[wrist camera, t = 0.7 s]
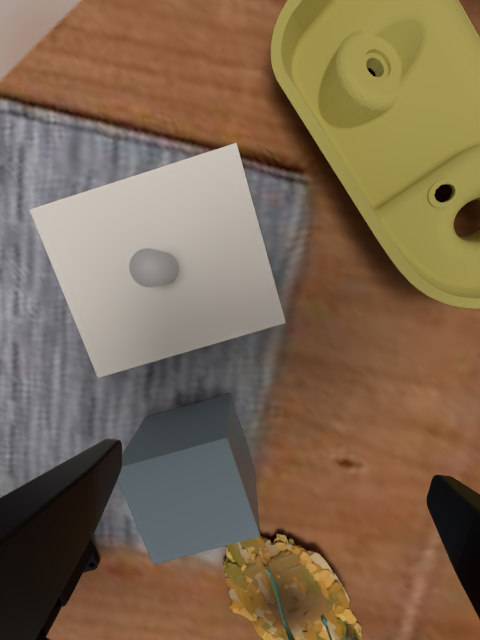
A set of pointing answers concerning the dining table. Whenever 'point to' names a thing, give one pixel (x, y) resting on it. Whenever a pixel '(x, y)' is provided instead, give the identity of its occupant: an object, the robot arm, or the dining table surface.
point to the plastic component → (394, 123)
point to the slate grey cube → (191, 480)
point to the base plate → (170, 224)
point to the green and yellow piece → (287, 591)
